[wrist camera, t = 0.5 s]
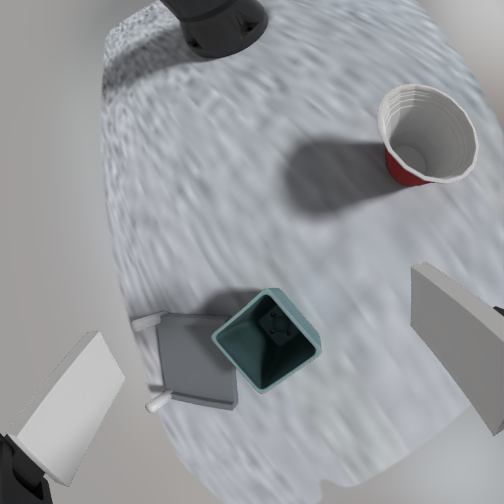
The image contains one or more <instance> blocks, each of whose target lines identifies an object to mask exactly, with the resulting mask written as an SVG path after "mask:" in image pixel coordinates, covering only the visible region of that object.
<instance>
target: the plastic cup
mask: <svg viewBox="0 0 504 504" xmlns="http://www.w3.org/2000/svg"><path fill="white" fill-rule="evenodd" d="M378 127H379V133H380V135H381V137H382V139H383V141H384V144H385V155H386V165H387V168H388V170H389V173H390V174H391V175H392V177H393V178H394V179H395V180H396V181H398V182H399V183H401V184H403V185H407V186H416V185H417V186H420V185H424V184H428V183H435V182H436V183H442V184H447V183H451V182H454V181H457V180H461V179H464V178H465V177H466V176H467V174H468V173H469V172H470V171H471V170H472V169H473V168H474V167H475V164H476V160H477V156H478V151H479V146H478V140H477V135H476V130H475V128H474V126H473V124H472V122H471V120H470V118H469V117H468V115H467V113H466V112H465V111H464V109H463V108H462V107H461V106H460V105H459V104H458V103H457V102H456V101H455V100H454V99H453V98H452V97H450V96H448V95H447V94H445V93H443V92H441V91H439V90H438V89H436V88H434V87H431V86H426V85H421V84H415V83H413V84H407V85H401V86H397V87H396V88H394V89H393V90H391V91H390V92H389V93H387V94H386V95H385V96H384V97H383V100H382V102H381V104H380V107H379V109H378Z"/></svg>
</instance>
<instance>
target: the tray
mask: <svg viewBox="0 0 504 504" xmlns="http://www.w3.org/2000/svg"><path fill="white" fill-rule="evenodd" d="M231 318H232V316H216V315H195V314H178V313H168V312H167V311H162V312H159V313H156V314H153V315H150V316H147V317H144V318H140V319H137V320H134V321H132V322H131V328H132V330H133V331H134V332H138V331H141V330H144V329H146V328H149V327H152V326H154V325H157V330H158V338H159V346H160V353H161V360H162V367H163V373H164V379H165V385H166V390H165V391H164V392H163V393H162V394H160V395H159V396H158V397H156V398H155V399H153V400H152V401H150V402H149V403H148V404H146V405H145V408H146V410H147V411H148V412H150V413H153V412H154V411H156V410H157V409H159V408H160V407H161V406H163V405H164V404H165V403H166V402H168V401H169V400H170V399H174V400H178V401H183V402H187V403H192V404H197V405H202V406H207V407H213V408H219V409H225V410H231V411H232V410H233V409H234V408H235V406H236V405H237V404H238V393H237V381H236V369H235V366H234V365H233V364H232V362H231V361H230V360H229V359H228V358H227V357H226V356H225V355H224V353H223V352H222V351H221V350H220V349H219V348H218V346H217V345H216V344H215V343H214V342H213V340H212V338H211V336H212V334H213V333H214V332H215V331H216V330H218V329H219V328H220V327H221V326H223V325H224V324H225V323H226V322H227V321H229V320H230V319H231Z"/></svg>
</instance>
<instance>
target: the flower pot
mask: <svg viewBox="0 0 504 504" xmlns="http://www.w3.org/2000/svg"><path fill="white" fill-rule="evenodd" d="M272 313H275V314H276V315H275V316H272ZM271 329H274V332H273V333H272V332H271ZM288 331H291V334H288ZM211 338H212V340H213V342H214V343H215V344H216V345H217V346H218V348H219V349H220V350H221V351H222V352H223V353H224V355H225V356H226V357H227V358H228V359H229V360H230V361H231V362H232V364H233V365H234V366H235V367H236V368H237V369H238V370H239V372H240V373H241V374H242V375H243V376H244V377H245V378H246V380H247V381H248V382H249V383H250V384H251V385H252V387H253V388H254V389H255V390H256V391H257V392H259V393H260V394H264V393H266V392H267V391H269V390H270V389H272V388H273V387H275V386H276V385H278V384H279V383H281V382H282V381H284V380H285V379H287V378H288V377H290V376H291V375H292V374H294V373H295V372H297V371H298V370H300V369H301V368H303V367H304V366H306V365H307V364H308V363H310V362H311V361H313V360H314V359H315V358H317V357H318V356H319V355H320V354H321V353H322V350H321V341H320V336H319V334H318V332H317V331H316V330H315V328H314V327H313V326H312V325H311V324H310V323H309V322H308V320H307V319H306V318H305V317H304V316H303V315H302V313H301V312H300V311H299V310H298V309H297V308H296V307H295V305H294V304H293V303H292V302H291V301H290V300H289V298H288V297H287V296H286V295H285V294H284V293H283V291H282V290H280V289H278V288H268V289H264V290H262V291H261V292H260V293H259V294H258V295H257V296H256V297H255V298H254V299H252V300H251V301H250V302H249V303H248V304H247V305H246V306H245V307H244V308H242V309H241V310H240V311H239V312H238V313H237V314H236V315H234V316H233V317H232V318H231V319H230V320H229V321H227V322H226V323H225V324H224V325H223V326H221V327H220V328H219V329H218V330H216V331H215V332H214V333H213V334H212V336H211Z"/></svg>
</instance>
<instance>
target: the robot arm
mask: <svg viewBox="0 0 504 504" xmlns="http://www.w3.org/2000/svg"><path fill="white" fill-rule="evenodd" d="M160 1H161V2H162V3H163V4H164V5H165V6H166V7H167V8H168V9H169V10H170V11H171V12H172V13H173V14H174V15H175V16H176V17H177V19H178V20H179V21H180V24H181V28H182V31H183V34H184V38H185V41H186V43H187V44H188V46H189V47H190V48H191V49H192V50H193V51H194V52H195V53H196V54H198V55H200V56H203V57H209V58H216V57H223V56H227V55H231V54H234V53H236V52H239V51H241V50H243V49H245V48H247V47H248V46H250V45H251V44H253V43H254V42H255V41H256V40H257V39H258V38H259V37H260V36H261V35H262V34H263V33H264V31H265V29H266V27H267V23H268V18H267V15H266V13H265V10H264V8H263V7H262V5H261V4H260V3H259V2H258V1H256V0H160ZM411 327H412V328H413V329H414V330H415V331H416V332H417V334H418V335H419V336H420V337H421V339H422V340H423V341H424V342H425V343H426V345H427V346H428V347H429V348H430V350H431V351H432V352H433V353H434V355H435V356H436V357H437V358H438V360H439V361H440V362H441V363H442V365H443V366H444V367H445V369H446V370H447V371H448V372H449V374H450V375H451V376H452V378H453V379H454V380H455V382H456V383H457V384H458V386H459V387H460V388H461V390H462V391H463V392H464V394H465V395H466V397H467V398H468V399H469V401H470V402H471V403H472V405H473V406H474V407H475V409H476V411H477V412H478V413H479V415H480V416H481V418H482V419H483V421H484V422H485V424H486V425H487V427H488V428H489V430H490V431H491V433H492V434H493V436H495V435H496V434H498V433H499V432H501V431H502V430H503V429H504V309H502V308H499V307H496V306H495V307H493V308H492V307H491V306H489V305H488V304H487V303H485V302H484V301H483V300H481V299H480V298H479V297H477V296H476V295H474V294H473V293H472V292H470V291H469V290H467V289H466V288H465V287H463V286H462V285H460V284H459V283H458V282H456V281H455V280H453V279H452V278H450V277H449V276H447V275H446V274H444V273H443V272H441V271H440V270H438V269H437V268H435V267H434V266H432V265H431V264H429V263H428V262H424V263H420V264H417V265H414V266H411ZM124 380H125V377H124V375H123V374H122V372H121V370H120V369H119V367H118V365H117V363H116V361H115V360H114V358H113V356H112V354H111V353H110V350H109V349H108V347H107V345H106V343H105V341H104V339H103V337H102V335H101V333H100V331H96V332H88V333H87V334H86V335H85V336H84V337H83V338H82V339H81V340H80V341H79V342H78V344H77V345H76V346H75V347H74V348H73V349H72V350H71V351H70V353H69V354H68V355H67V356H66V357H65V358H64V360H63V361H62V362H61V363H60V364H59V365H58V367H57V368H56V369H55V370H54V371H53V372H52V374H51V375H50V376H49V377H48V378H47V380H46V381H45V382H44V383H43V384H42V386H41V387H40V388H39V389H38V391H37V392H36V393H35V394H34V396H33V397H32V398H31V399H30V401H29V402H28V403H27V404H26V406H25V407H24V408H23V410H22V411H21V412H20V413H19V415H18V416H17V418H16V419H15V420H14V421H13V423H12V424H11V425H10V427H9V428H8V430H7V431H6V433H7V434H6V436H5V437H3V436H2V435H1V433H0V504H53V502H52V498H51V494H50V488H49V484H48V481H47V480H46V479H45V478H44V477H43V476H44V474H45V473H46V474H47V475H48V476H49V477H50V478H52V479H53V480H54V481H55V482H57V483H59V484H62V485H64V486H67V487H69V486H70V484H71V482H72V480H73V478H74V476H75V474H76V472H77V470H78V467H79V466H80V463H81V461H82V459H83V457H84V455H85V453H86V451H87V449H88V448H89V446H90V444H91V442H92V440H93V438H94V436H95V434H96V432H97V430H98V428H99V426H100V424H101V422H102V420H103V419H104V417H105V415H106V413H107V411H108V409H109V407H110V406H111V404H112V402H113V400H114V398H115V397H116V395H117V393H118V391H119V389H120V387H121V386H122V384H123V382H124Z"/></svg>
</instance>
